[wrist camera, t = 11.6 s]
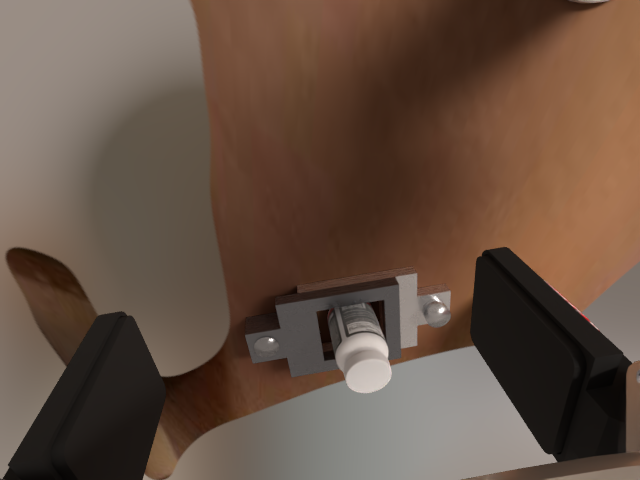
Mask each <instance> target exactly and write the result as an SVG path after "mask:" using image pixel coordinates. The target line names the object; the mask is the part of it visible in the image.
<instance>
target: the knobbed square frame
mask: <svg viewBox="0 0 640 480" xmlns="http://www.w3.org/2000/svg"><path fill="white" fill-rule="evenodd" d="M297 292H298V293H297V294H291V295H285V296H279V297H275V306H276V310H277V312H276V313H270V314H264V315H258V316H252V317H246V326H245V338H246V341H247V345H248V348H249V352H250V355H251V359H252V362H253V363H259V362H265V361H270V360H276V359H282V358H287V359H288V364H289V368H290V373H291V377H296V376H302V375H307V374H313V373H319V372H324V371H330V370H336V369H340V368H339V367H338V365H337V363H336V359H335V354H334V350H333V345H332V342H326V343H321V338H320V331H319V325H318V319H317V313H316V311H321V310H327V309H333V308H338V307H344V306H350V305H356V304H362V303H368V302H374V301H379V313H380V328H381V330H382V333H383V335H384V338H385V341H386V343H387V346H388V360H392V359H398V358H401V348H406V347H412V346H417V326H418V325H423V324H429V325H430V326H432V327H441V326H443V325H445V324H446V323H448V321H449V320H450V318H451V313H450V294H451V291H450V289H449V288H448V286H447V285H446V284H440V285H434V286H429V287H423V288H417V272H416V271H415V269H414V267H413V266H410V267H404V268H398V269H392V270H386V271H380V272H374V273H368V274H362V275H356V276H351V277H345V278H339V279H333V280H327V281H321V282H315V283H309V284H303V285H297Z"/></svg>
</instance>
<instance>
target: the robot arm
mask: <svg viewBox="0 0 640 480" xmlns="http://www.w3.org/2000/svg"><path fill="white" fill-rule="evenodd" d="M568 1H572V2H577V3H597V2H604V1H609V0H568ZM470 333H471V338H472V341H473V343H474V345H475V346H476V348H477V349H478V351H479V353H480V354H481V356H482V357H483V359H484V360H485V362H486V363H487V365H488V366H489V368H490V369H491V371H492V373H493V374H494V376H495V377H496V379H497V380H498V382H499V383H500V385H501V386H502V388H503V389H504V391H505V392H506V394H507V396H508V397H509V399H510V400H511V402H512V403H513V405H514V406H515V408H516V409H517V411H518V412H519V414H520V415H521V417H522V419H523V420H524V422H525V423H526V425H527V426H528V428H529V429H530V431H531V432H532V434H533V435H534V437H535V439H536V440H537V442H538V443H539V444H540V446H541V448H542V449H543V450H544V451H545V452H546V453H547V454H553V456H554V457H555V459H556V460H557V463H551V464H545V465H539V466H533V467H527V468H521V469H516V470H510V471H505V472H500V473H494V474H489V475H483V476H478V477H473V478H467V479H462V480H640V361H636V362H634V363H632V362H631V361H629V360H628V359H627V358H626V357H625V356H624V355H623V352H622V351H621V350H619V349H618V348H617V347H616V346H615V345H614V344H613V343H612V342H611V341H610V340H609V339H607V338H606V337H605V336H604V335H603V334H602V333H601V332H600V331H599V330H598V329H596V328H595V327H594V326H593V325H592V324H591V323H590V322H589V321H588V320H587V319H586V318H584V317H583V316H582V315H581V314H580V313H579V312H578V311H577V310H576V309H575V308H573V307H572V306H571V305H570V304H569V303H568V302H567V301H566V300H565V299H564V298H563V297H561V296H560V295H559V294H558V293H557V292H556V291H555V290H554V289H553V288H552V287H551V286H549V285H548V284H547V283H546V282H545V281H544V280H543V279H542V278H541V277H540V276H538V275H537V274H536V273H535V272H534V271H533V270H532V269H531V268H530V267H529V266H528V265H526V264H525V263H524V262H523V261H522V260H521V259H520V258H519V257H518V256H517V255H515V254H514V253H513V252H512V251H511V250H510V249H509V248H507V247H502V248H496V249H490V250H485V251H484V252H483V253H482V256H480V257H478V258H477V261H476V270H475V282H474V294H473V305H472V317H471V329H470ZM165 397H166V389H165V385H164V382H163V380H162V378H161V376H160V374H159V372H158V369H157V367H156V365H155V363H154V361H153V359H152V356H151V354H150V352H149V350H148V348H147V345H146V343H145V341H144V339H143V337H142V335H141V332H140V330H139V328H138V326H137V324H136V322H135V319H134V318H133V317H132V316H127V315H126V314H125V313H124V312H122V311H121V312H115V313H109V314H104V315H99V316H98V317H97V318H96V319H95V321H94V323H93V324H92V326H91V328H90V329H89V331H88V333H87V334H86V336H85V337H84V339H83V341H82V342H81V344H80V346H79V347H78V349H77V351H76V352H75V354H74V356H73V357H72V359H71V361H70V362H69V364H68V366H67V367H66V369H65V371H64V372H63V374H62V376H61V377H60V379H59V381H58V382H57V384H56V386H55V387H54V389H53V391H52V393H51V394H50V396H49V398H48V399H47V401H46V403H45V404H44V406H43V407H42V409H41V411H40V413H39V414H38V416H37V417H36V419H35V421H34V422H33V424H32V426H31V428H30V429H29V431H28V432H27V434H26V436H25V437H24V439H23V441H22V442H21V444H20V446H19V447H18V449H17V451H16V453H15V454H14V456H13V457H12V459H11V461H10V462H9V464H8V466H9V469H8V471H7V473H6V474H5V476H4V477H3V479H0V480H143V476H144V472H145V469H146V465H147V462H148V458H149V455H150V451H151V448H152V444H153V441H154V437H155V433H156V430H157V426H158V423H159V419H160V416H161V412H162V409H163V405H164V402H165Z"/></svg>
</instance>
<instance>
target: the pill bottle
mask: <svg viewBox="0 0 640 480" xmlns="http://www.w3.org/2000/svg"><path fill="white" fill-rule="evenodd" d="M327 321H328V326H329V331H330V336H331V340H332V345H333V350H334V354H335V359H336V363H337V365H338V367H339V368H340V369H341V370H342V371H343V372H344V377H345V381H346V383H347V385H348V387H349V388H351V389H352V390H353V391H356V392H359V393H370V392H374V391H377V390H379V389H381V388H383V387H384V386H385V385H386V384H387V383H388V382H389V380H390V378H391V374H392V372H391V368H390V364H389V361H388V346H387V343H386V341H385V338H384V335H383V333H382V330H381V328H380V325H379V323H378V320H377V317H376V315H375V312H374V309H373V307H372V306H371V304H370V303H369V302H368V303H362V304H356V305H350V306H344V307H338V308H333V309H330V310H329V312H328V316H327Z"/></svg>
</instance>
